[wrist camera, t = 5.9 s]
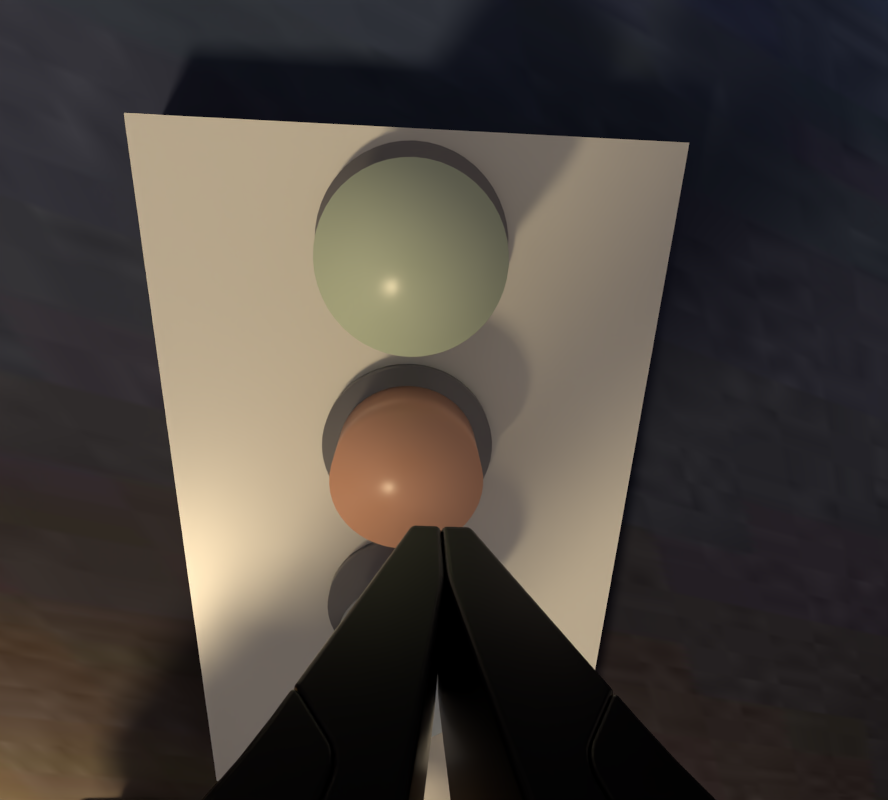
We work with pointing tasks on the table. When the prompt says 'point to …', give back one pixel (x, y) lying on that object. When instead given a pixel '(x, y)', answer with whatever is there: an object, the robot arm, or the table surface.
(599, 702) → the robot arm
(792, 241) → the table surface
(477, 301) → the sage button
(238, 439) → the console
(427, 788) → the ivory button
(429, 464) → the terracotta button
